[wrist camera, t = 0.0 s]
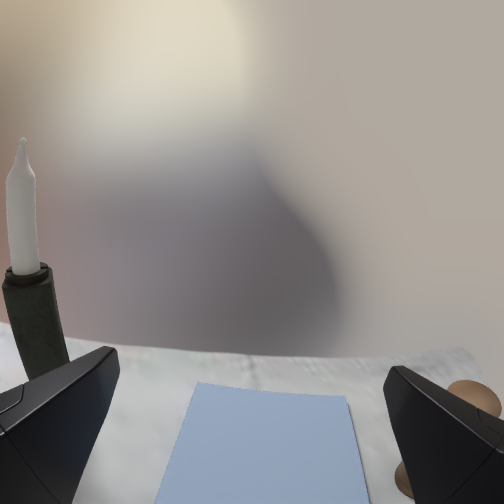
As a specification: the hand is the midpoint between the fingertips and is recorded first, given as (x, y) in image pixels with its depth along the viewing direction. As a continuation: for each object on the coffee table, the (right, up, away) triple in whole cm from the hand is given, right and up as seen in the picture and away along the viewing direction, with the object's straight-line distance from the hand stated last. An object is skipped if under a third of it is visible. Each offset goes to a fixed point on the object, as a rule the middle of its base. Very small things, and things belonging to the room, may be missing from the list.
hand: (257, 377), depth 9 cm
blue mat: (+1, -14, +13) cm, 19 cm away
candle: (-22, -11, +16) cm, 29 cm away
